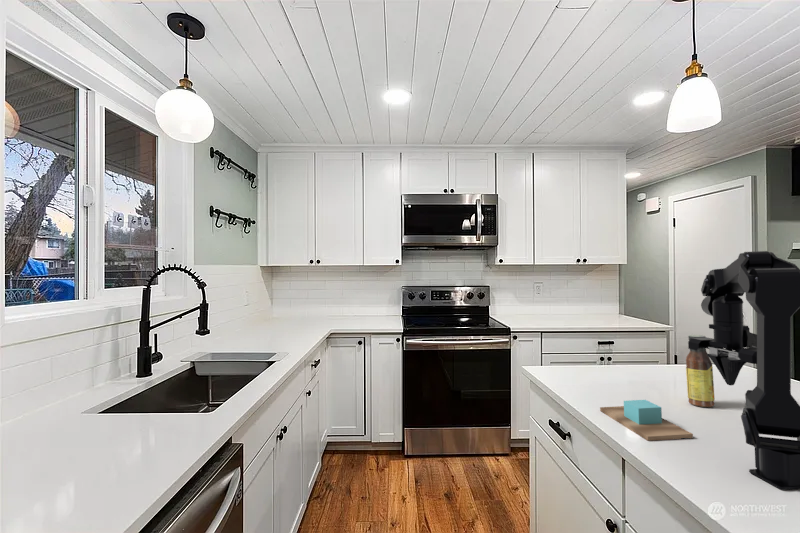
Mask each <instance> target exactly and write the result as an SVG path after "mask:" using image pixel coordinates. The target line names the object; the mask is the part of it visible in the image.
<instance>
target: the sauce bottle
mask: <svg viewBox="0 0 800 533" xmlns="http://www.w3.org/2000/svg"><path fill="white" fill-rule="evenodd" d="M703 337H706V336H705V335H703V334H702V335H701V334H689V335H687V338H688V341H689V340H690V339H691V338H703ZM707 354H708V351H707V348H700V349H699V350H693V349H689V353H688V354H687V356H686V357H685V366H686V367H685V375H686V390H687V398H688V402H689V404H690V405H693V406H695V407H700V408H713V407H714V406H715V387H714V373H713V372H714V371H713V370H714V369H713V363H712V360H711V359H710V357H708V356H707Z"/></svg>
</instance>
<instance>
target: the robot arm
mask: <svg viewBox="0 0 800 533" xmlns="http://www.w3.org/2000/svg"><path fill="white" fill-rule="evenodd" d="M700 291H701V295H702V296H703V297H704V298H703V299H702V301H701V304H700V307H701V310H702V311H703V312H704V314H706V315H708V316H711V317H712V323H709V324H708V328H709V330H710V329H712V330H713V337H712V338H711V337H706V336H705V337H703V338H691V339H690V340H689V339H688V342H687V344H688V347H687V348H688V349H689V350H690V349H693V350H699V349H700V348H706V350H708V351H709V353H707V356H708V357H709V358H710V360H711V362H713V363H712V364H714V366H715V367H716V368H717V370H718V372H719V373H720V375H721V376H722V379H723V381H724V382H725V384H727V385H728V386H734V385H735V384H736V381H737V379H738V377H739V374H740V371H741V369H742V368H743V366H745V364H747V363H748V364H753V365H756V386H755V387H754V388H753V389H748V390H746V392H745V393H744V396H745V405H744V407H743V409H742V413H741V415H740V418H741V422H742V426H743V430H744V436H745V444H747V445H749V446H752V447H754V461H755V462H754V463H755V464H754V466H755V468H750V469H748V472H749V473H750V474H752V475H754V476H755V477H757V478H759V479H761V480H763V481H764V482H766V483H768V484H770V485H772V486H773V487H776V488H778V489H779V490H796V489H800V404H799V403H798V401H796V399H795V398H794V397H793V395H792V394H791V393H792V391H791V389H792V388H791V387H792V385H791V384H792V382H791V381H792V378H791V377H792V375H791V374H792V317H793V316H794V314H795V313H797V311H798V310H799V309H800V268H799V267H798V266H797V265H796V264H795V263H793V262H790V261H787V260H785V259H782V258H780V257H777V256H776V255H775V253H774V252H772V251H769V250H768V251H767V250H757V251H756V250H755V251H744V252H740V253H739V254H738V256H737V259H735V260H734V261H733V262H731V263H730V264H729V265H727V266H725V267H724V268H714V269H712V270H710V271H709V272H708V274H706V275H705V278H704V280H703V282H702V285H701V288H700ZM744 294H745V300H746V301H747V302H748V304H749V305H750V306H751V307H752V308H753V310H754V311H755V312H756V333H753V332H750V327H749V325H744V309H743V308H744V307H743V305H744V300H743V298H741V297H743V296H744ZM760 435H767V436H760ZM768 436H776V437H777V438H776V437H768ZM779 437H784V438H779ZM789 438H792V439H789ZM793 438H795V439H793Z"/></svg>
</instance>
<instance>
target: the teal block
mask: <svg viewBox="0 0 800 533" xmlns="http://www.w3.org/2000/svg"><path fill="white" fill-rule="evenodd" d="M623 406H624V416H625V417H627V418H629V419H630V420H632V421H634V422H636V423H637V424H639V425H640V424H658V423H662V418H663V416H662V414H663V412H662V406H660V405H658V404H656V403H654V402H651V401H649V400H647V399H636V400H635V399H634V400H633V399H631V400H623Z"/></svg>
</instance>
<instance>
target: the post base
mask: <svg viewBox="0 0 800 533" xmlns="http://www.w3.org/2000/svg"><path fill="white" fill-rule="evenodd" d="M599 410H600V412H601V413H603V414H605V415H606V416H608V417H609V418H611V419H612V420H614V421H616V422H617V423H618V424H620V425H622V426H623V427H625V428H626V429H628V430H630V431H632V432H633V433H635V434H636V435H637V436H639V437H641V438H643V439H644V440H646V441H649V442H650V441H652V442H653V441H667V440H669V441H670V440H682V439H681V438H690V439H693V438H694V434H693V433H692V432H690V431H688V430H686V429H684V428H682V427H680V426H678V425H677V424H675V423H672V422H671V421H669V420H667V419H665V418H663V417H662V423H658V424H640V425H639V424H637V423H636V422H634V421H632V420H630V419H629V418H627V417H625V416H624V405H622V406H620V405H617V406H601V407H599ZM692 437H693V438H692Z"/></svg>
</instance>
